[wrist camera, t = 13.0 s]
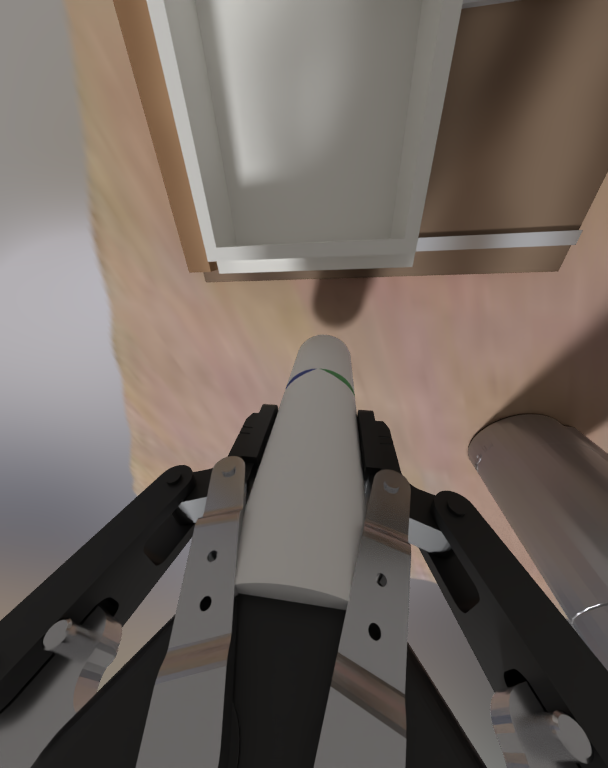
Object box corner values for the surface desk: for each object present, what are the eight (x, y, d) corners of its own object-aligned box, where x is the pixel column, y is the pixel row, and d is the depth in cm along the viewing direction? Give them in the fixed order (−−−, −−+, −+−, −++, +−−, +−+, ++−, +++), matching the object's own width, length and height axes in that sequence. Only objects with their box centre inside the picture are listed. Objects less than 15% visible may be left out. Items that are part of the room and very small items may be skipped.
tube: (348, 383, 19) (368, 648, 7) (298, 381, 20) (233, 625, 7) (352, 334, 17) (392, 599, 5) (295, 334, 18) (195, 571, 5)
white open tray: (448, -53, 10) (579, -373, 5) (399, 262, 16) (430, 273, 11) (186, -7, 11) (61, -219, 6) (236, 268, 18) (196, 281, 12)
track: (725, -109, 9) (895, -258, 7) (546, 269, 17) (590, 276, 14) (143, -6, 12) (85, -80, 9) (211, 280, 20) (191, 287, 17)
